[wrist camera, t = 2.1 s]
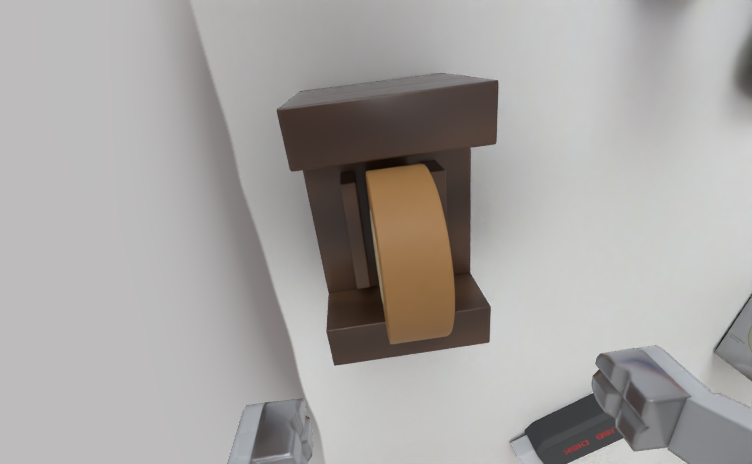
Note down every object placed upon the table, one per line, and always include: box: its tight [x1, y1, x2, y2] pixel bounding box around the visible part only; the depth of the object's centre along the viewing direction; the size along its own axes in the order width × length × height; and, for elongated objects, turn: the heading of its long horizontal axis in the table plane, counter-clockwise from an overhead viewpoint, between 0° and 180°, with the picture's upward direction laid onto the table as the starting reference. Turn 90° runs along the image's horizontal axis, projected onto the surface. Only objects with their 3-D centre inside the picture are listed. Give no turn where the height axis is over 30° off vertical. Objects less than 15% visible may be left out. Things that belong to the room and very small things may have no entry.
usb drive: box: [511, 393, 623, 464], centre depth 38 cm, size 5×12×3 cm, turn 124°
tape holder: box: [277, 73, 498, 366], centre depth 21 cm, size 14×9×9 cm, turn 7°
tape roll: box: [365, 164, 455, 344], centre depth 17 cm, size 8×3×8 cm, turn 7°
